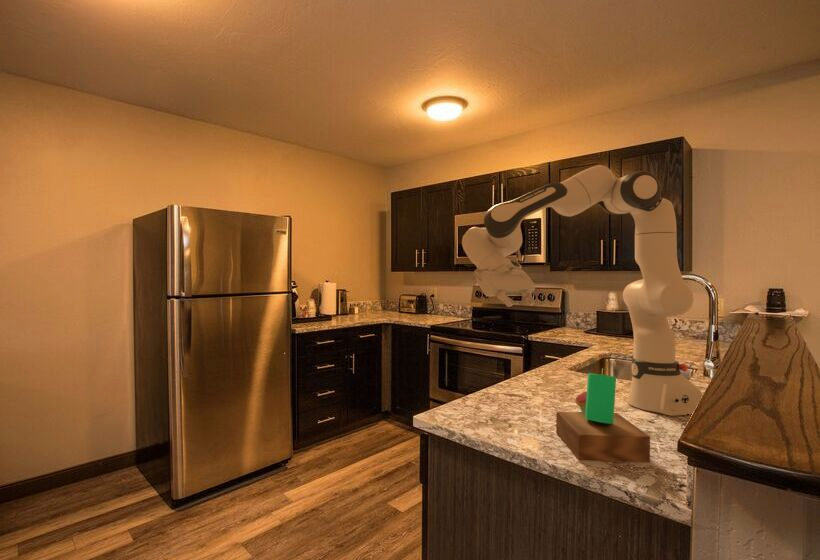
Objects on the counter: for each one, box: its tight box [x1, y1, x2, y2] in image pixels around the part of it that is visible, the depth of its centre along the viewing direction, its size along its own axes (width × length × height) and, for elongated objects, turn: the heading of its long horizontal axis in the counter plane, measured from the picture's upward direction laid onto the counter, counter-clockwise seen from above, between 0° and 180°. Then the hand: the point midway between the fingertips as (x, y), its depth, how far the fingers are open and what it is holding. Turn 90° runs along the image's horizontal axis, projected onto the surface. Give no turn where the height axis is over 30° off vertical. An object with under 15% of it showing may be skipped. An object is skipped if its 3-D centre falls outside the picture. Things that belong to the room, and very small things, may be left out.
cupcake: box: [575, 391, 587, 412], centre depth 115 cm, size 9×8×12 cm
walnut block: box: [555, 411, 651, 463], centre depth 96 cm, size 15×15×6 cm
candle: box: [585, 368, 617, 424], centre depth 96 cm, size 6×6×12 cm
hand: (521, 304), depth 116 cm, fingers open, 8 cm apart
